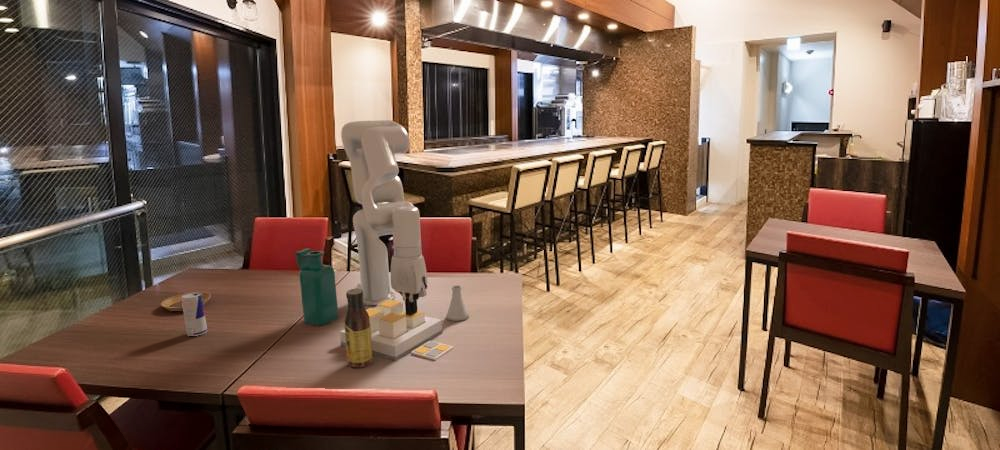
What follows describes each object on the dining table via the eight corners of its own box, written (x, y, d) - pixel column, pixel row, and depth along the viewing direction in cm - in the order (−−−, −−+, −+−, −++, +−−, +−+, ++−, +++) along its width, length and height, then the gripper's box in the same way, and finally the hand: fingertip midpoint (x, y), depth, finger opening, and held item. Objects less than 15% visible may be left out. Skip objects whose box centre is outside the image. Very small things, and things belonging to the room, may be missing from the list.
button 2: (378, 320, 160) (376, 304, 159) (390, 314, 164) (389, 298, 163) (391, 323, 157) (390, 307, 156) (403, 317, 162) (402, 301, 161)
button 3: (379, 336, 149) (378, 318, 148) (392, 329, 154) (391, 312, 153) (393, 339, 147) (392, 322, 146) (406, 332, 151) (405, 315, 150)
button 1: (357, 330, 153) (356, 313, 152) (371, 323, 158) (369, 307, 157) (371, 334, 151) (370, 316, 150) (384, 327, 155) (383, 310, 154)
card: (411, 353, 147) (411, 351, 146) (430, 342, 153) (429, 339, 153) (435, 360, 142) (435, 357, 142) (453, 348, 149) (453, 345, 149)
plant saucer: (167, 318, 176) (166, 310, 175) (157, 306, 187) (156, 299, 186) (217, 306, 185) (216, 299, 185) (205, 296, 196) (204, 289, 196)
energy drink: (211, 331, 164) (206, 293, 162) (196, 338, 159) (190, 299, 157) (197, 329, 166) (192, 291, 163) (182, 336, 161) (176, 297, 159)
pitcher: (341, 317, 173) (335, 249, 168) (322, 327, 166) (315, 256, 161) (317, 312, 177) (310, 246, 172) (297, 322, 170) (290, 253, 165)
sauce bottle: (350, 358, 145) (344, 286, 140) (374, 357, 145) (369, 285, 141) (345, 370, 138) (339, 295, 134) (371, 368, 139) (365, 294, 134)
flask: (465, 322, 167) (464, 291, 165) (443, 321, 168) (441, 290, 166) (471, 313, 174) (470, 283, 172) (449, 312, 175) (448, 282, 173)
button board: (341, 344, 153) (340, 331, 152) (390, 320, 170) (389, 308, 169) (395, 360, 143) (394, 346, 142) (442, 332, 160) (441, 319, 159)
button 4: (399, 331, 156) (398, 314, 155) (411, 324, 161) (410, 308, 160) (413, 334, 154) (412, 318, 153) (425, 328, 158) (424, 311, 157)
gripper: (378, 251, 153) (382, 313, 157) (420, 257, 145) (424, 322, 149) (396, 245, 159) (400, 305, 163) (437, 251, 151) (440, 313, 155)
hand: (411, 313), depth 156 cm, fingers closed
